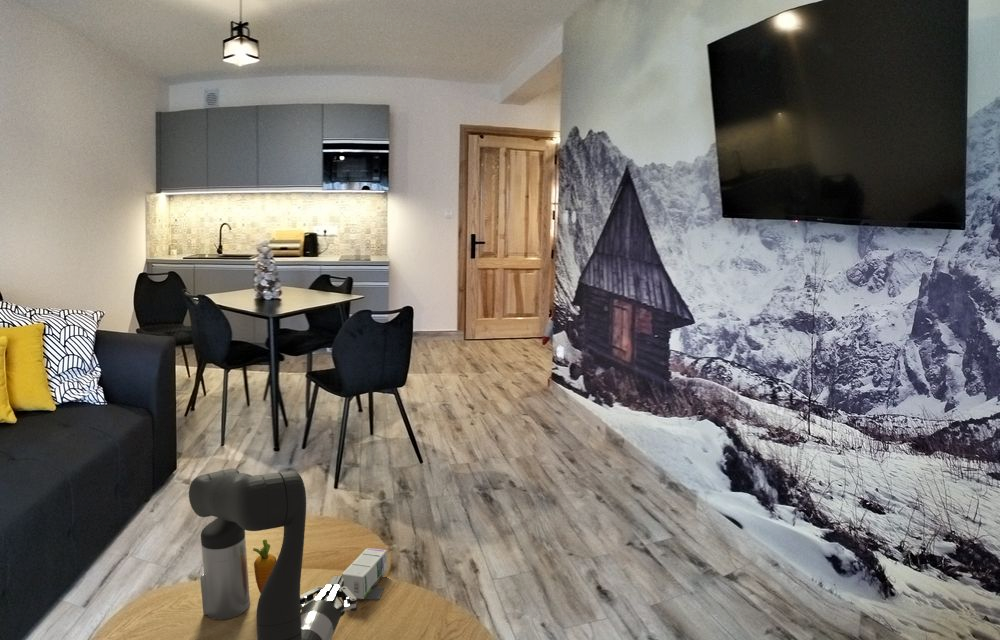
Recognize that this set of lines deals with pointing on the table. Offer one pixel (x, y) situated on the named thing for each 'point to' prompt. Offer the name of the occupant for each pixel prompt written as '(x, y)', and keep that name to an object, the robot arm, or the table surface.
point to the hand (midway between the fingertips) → (338, 579)
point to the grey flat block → (374, 594)
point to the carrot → (263, 565)
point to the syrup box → (365, 572)
